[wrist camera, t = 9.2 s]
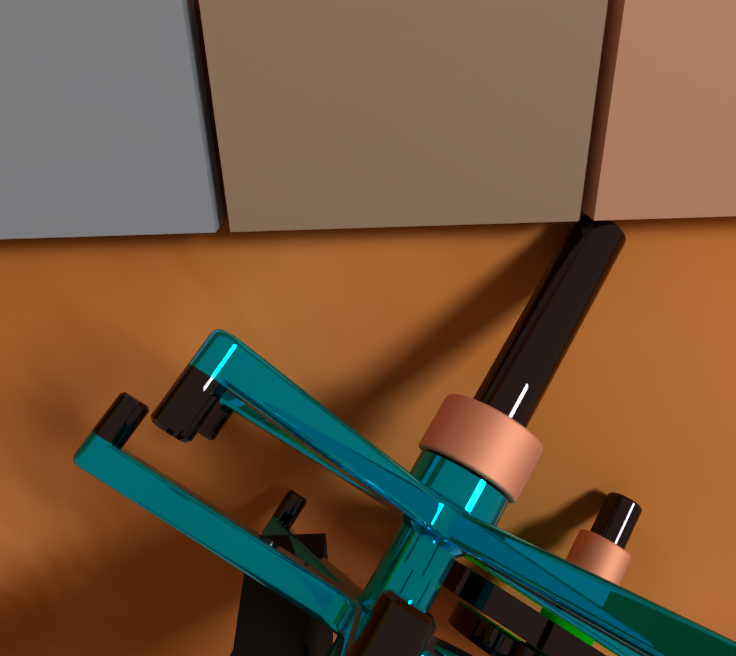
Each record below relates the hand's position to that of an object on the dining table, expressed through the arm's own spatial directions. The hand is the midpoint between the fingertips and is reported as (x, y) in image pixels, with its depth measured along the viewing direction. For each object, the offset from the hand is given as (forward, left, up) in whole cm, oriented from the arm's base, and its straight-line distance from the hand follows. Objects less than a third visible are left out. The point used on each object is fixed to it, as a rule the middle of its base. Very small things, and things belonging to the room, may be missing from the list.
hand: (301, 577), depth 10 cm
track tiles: (+7, -2, -1) cm, 8 cm away
